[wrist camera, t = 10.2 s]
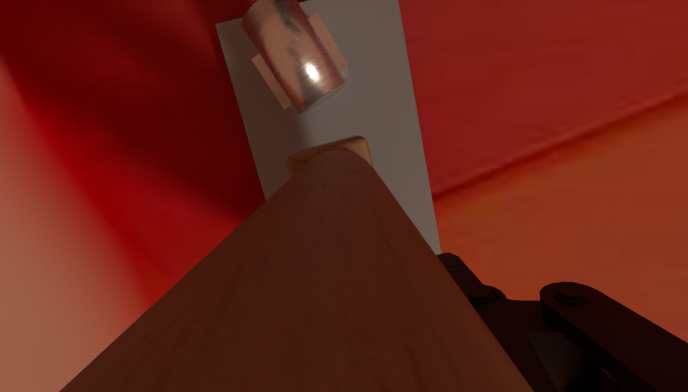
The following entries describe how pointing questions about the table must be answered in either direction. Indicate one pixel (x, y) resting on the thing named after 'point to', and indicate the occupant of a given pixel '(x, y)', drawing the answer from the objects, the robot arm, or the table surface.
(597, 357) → the robot arm
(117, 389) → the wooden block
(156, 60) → the table surface
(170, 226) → the table surface
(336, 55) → the grey block
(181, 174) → the table surface
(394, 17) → the plate
